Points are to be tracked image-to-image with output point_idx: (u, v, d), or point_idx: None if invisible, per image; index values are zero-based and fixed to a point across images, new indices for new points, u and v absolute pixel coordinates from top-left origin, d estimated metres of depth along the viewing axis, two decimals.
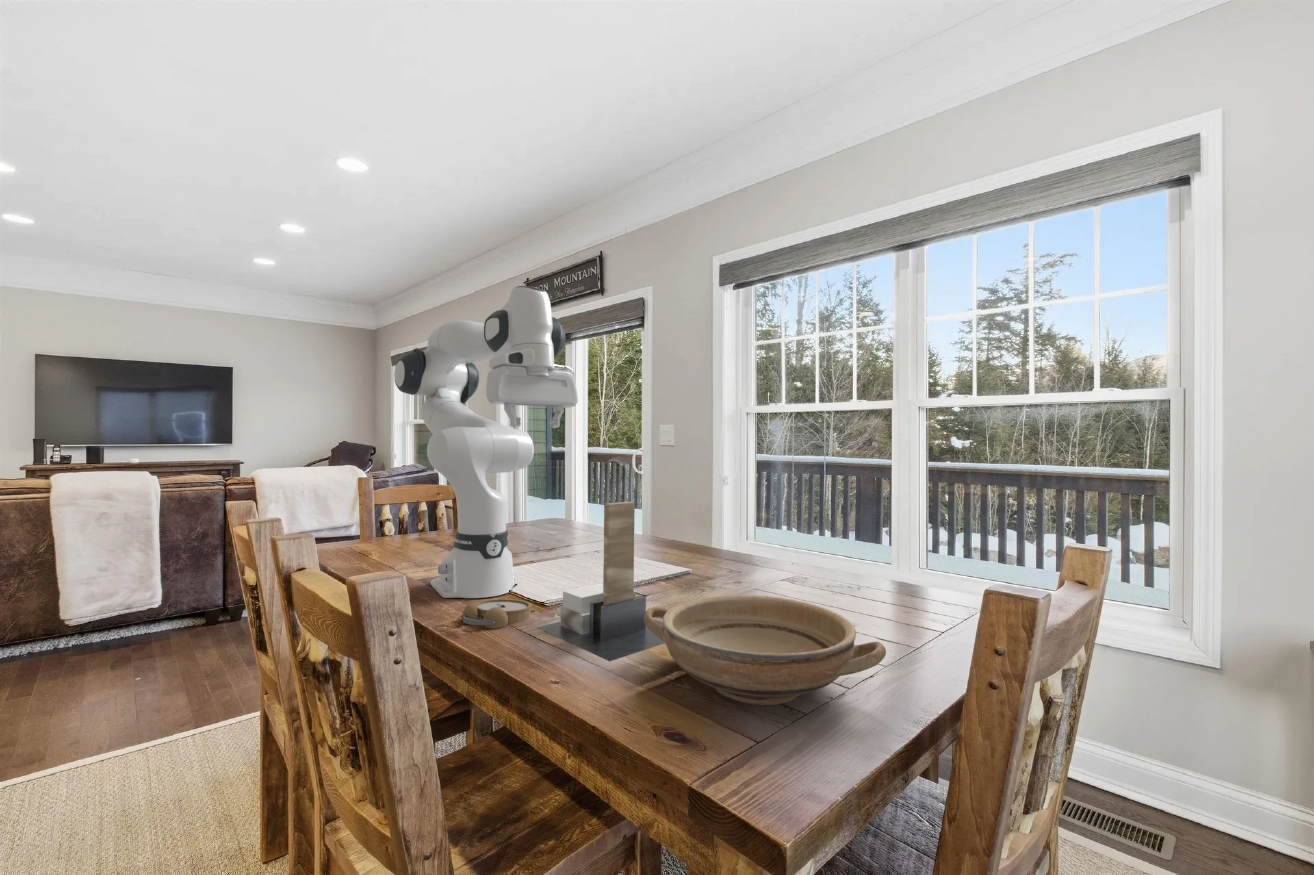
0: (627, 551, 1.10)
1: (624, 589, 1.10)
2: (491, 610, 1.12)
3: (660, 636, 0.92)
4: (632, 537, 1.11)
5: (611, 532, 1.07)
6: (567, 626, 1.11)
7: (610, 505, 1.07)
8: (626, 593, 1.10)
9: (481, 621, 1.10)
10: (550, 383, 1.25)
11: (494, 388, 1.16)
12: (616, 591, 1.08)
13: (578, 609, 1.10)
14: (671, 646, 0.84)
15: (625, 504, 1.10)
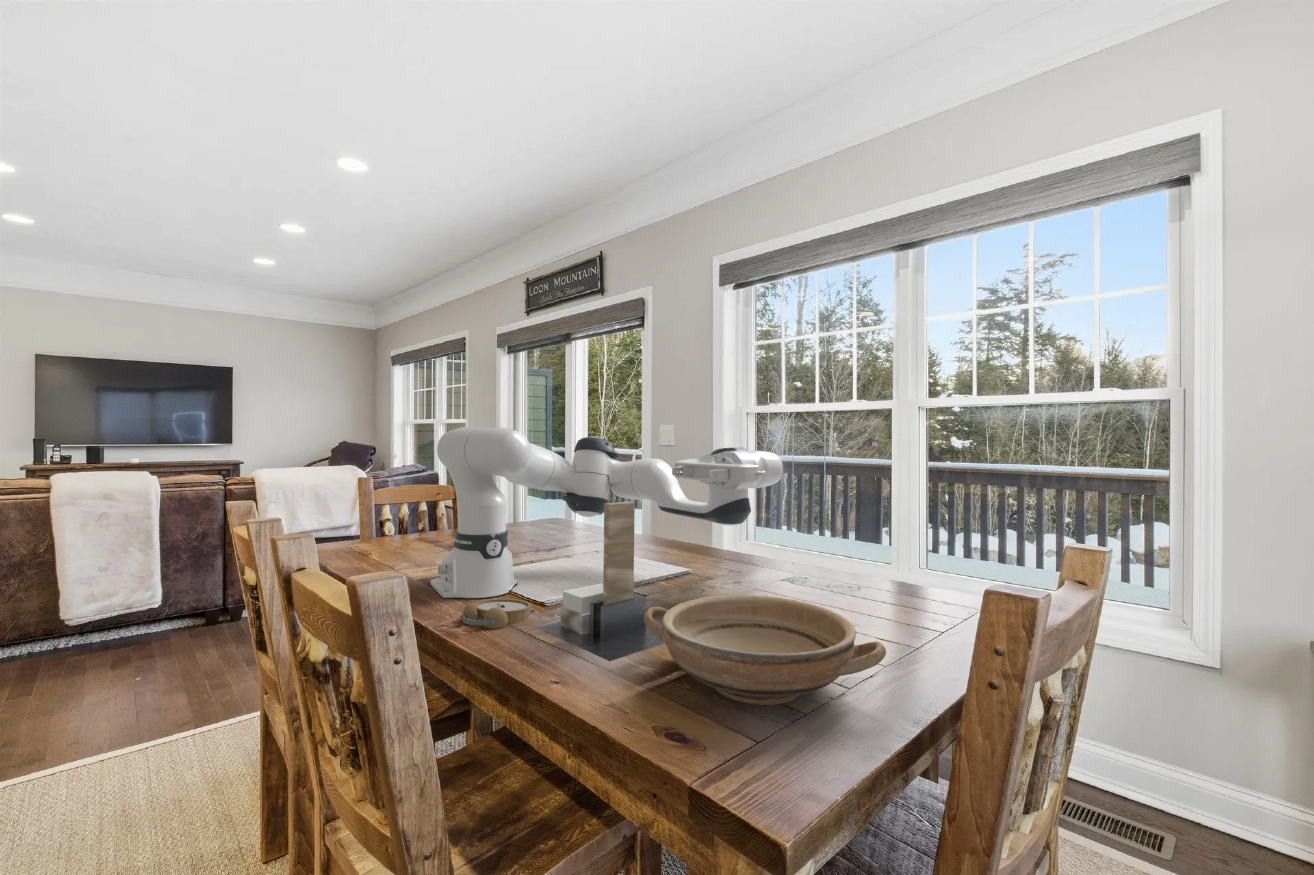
0: (627, 551, 1.10)
1: (624, 589, 1.10)
2: (491, 610, 1.12)
3: (660, 636, 0.92)
4: (632, 537, 1.11)
5: (611, 532, 1.07)
6: (567, 626, 1.11)
7: (610, 505, 1.07)
8: (626, 593, 1.10)
9: (481, 621, 1.10)
10: None
11: None
12: (616, 591, 1.08)
13: (578, 609, 1.10)
14: (671, 646, 0.84)
15: (625, 504, 1.10)
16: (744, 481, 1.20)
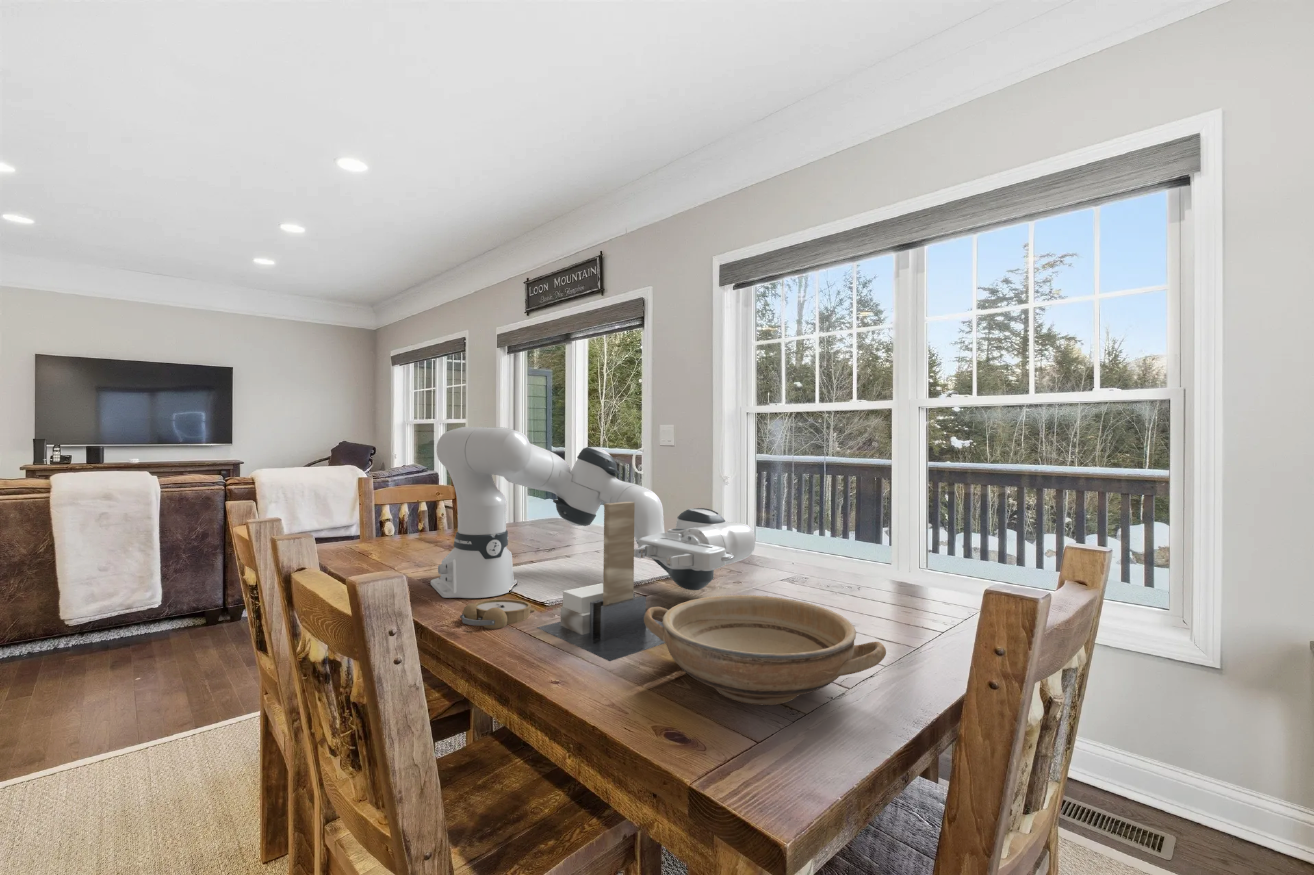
0: (627, 551, 1.10)
1: (624, 589, 1.10)
2: (490, 610, 1.12)
3: (660, 636, 0.92)
4: (632, 537, 1.11)
5: (611, 532, 1.07)
6: (567, 626, 1.11)
7: (610, 505, 1.07)
8: (626, 593, 1.10)
9: (480, 621, 1.10)
10: (695, 546, 1.19)
11: None
12: (616, 591, 1.08)
13: (578, 609, 1.10)
14: (671, 646, 0.84)
15: (625, 504, 1.10)
16: (708, 569, 1.12)
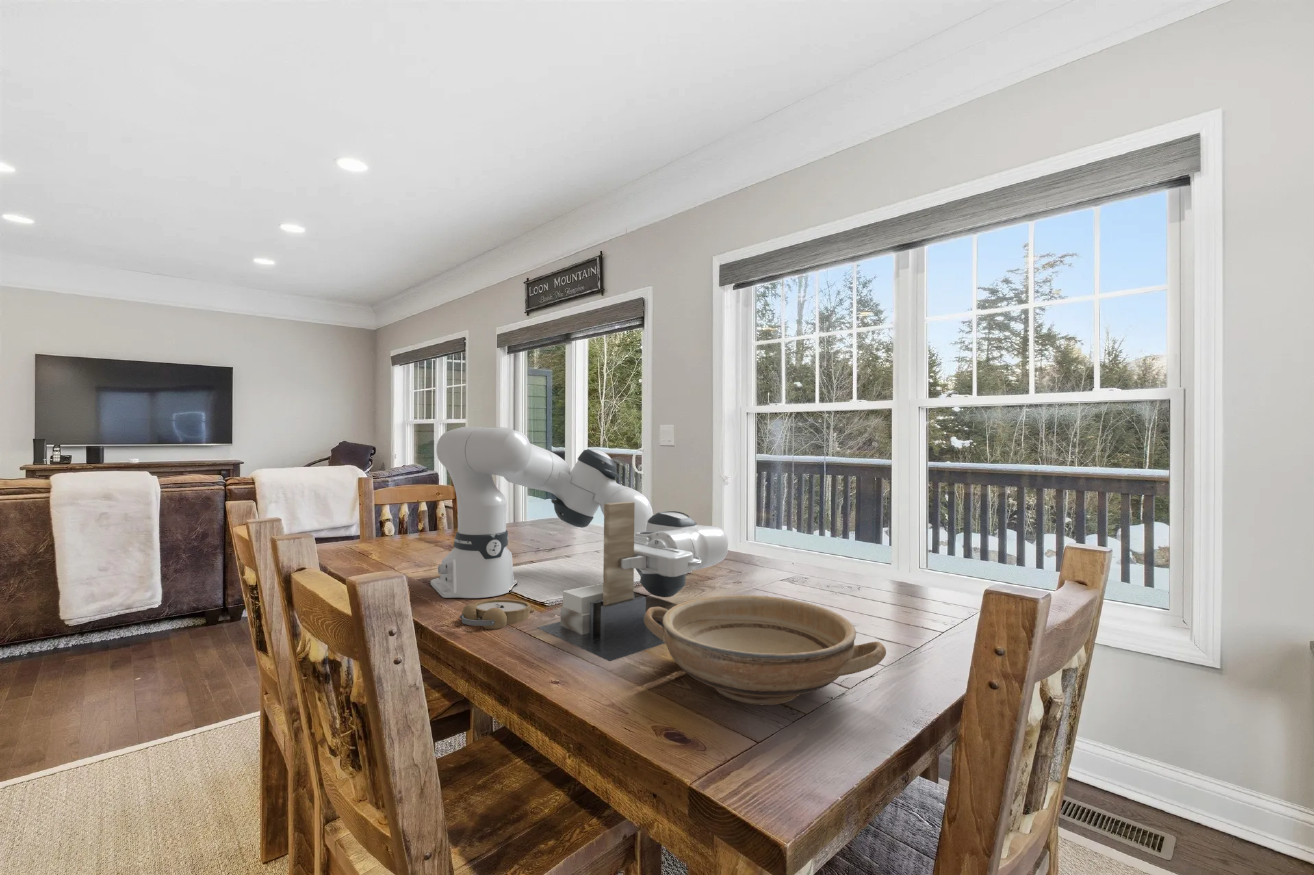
0: (627, 551, 1.10)
1: (624, 589, 1.10)
2: (490, 610, 1.11)
3: (660, 636, 0.92)
4: (632, 537, 1.11)
5: (611, 532, 1.07)
6: (567, 626, 1.11)
7: (610, 505, 1.07)
8: (626, 593, 1.10)
9: (480, 621, 1.10)
10: (662, 550, 1.13)
11: None
12: (616, 591, 1.08)
13: (578, 609, 1.10)
14: (671, 646, 0.84)
15: (625, 504, 1.10)
16: (673, 575, 1.06)
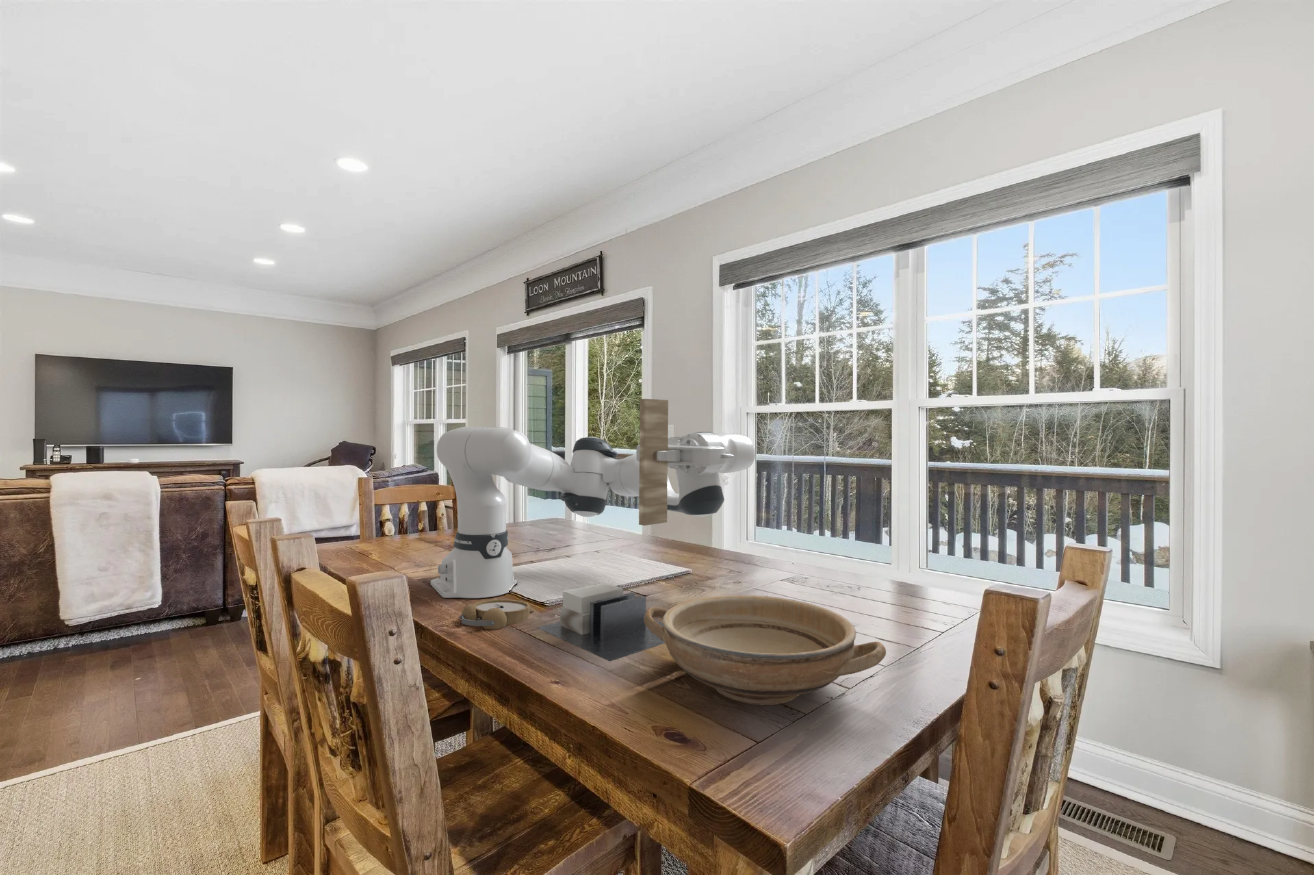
0: (661, 446, 1.14)
1: (659, 482, 1.14)
2: (490, 611, 1.11)
3: (660, 636, 0.92)
4: (666, 433, 1.15)
5: (647, 425, 1.12)
6: (567, 626, 1.11)
7: (646, 399, 1.11)
8: (661, 486, 1.14)
9: (480, 621, 1.09)
10: None
11: None
12: (651, 483, 1.13)
13: (578, 609, 1.10)
14: (671, 646, 0.84)
15: (659, 400, 1.14)
16: (707, 464, 1.10)
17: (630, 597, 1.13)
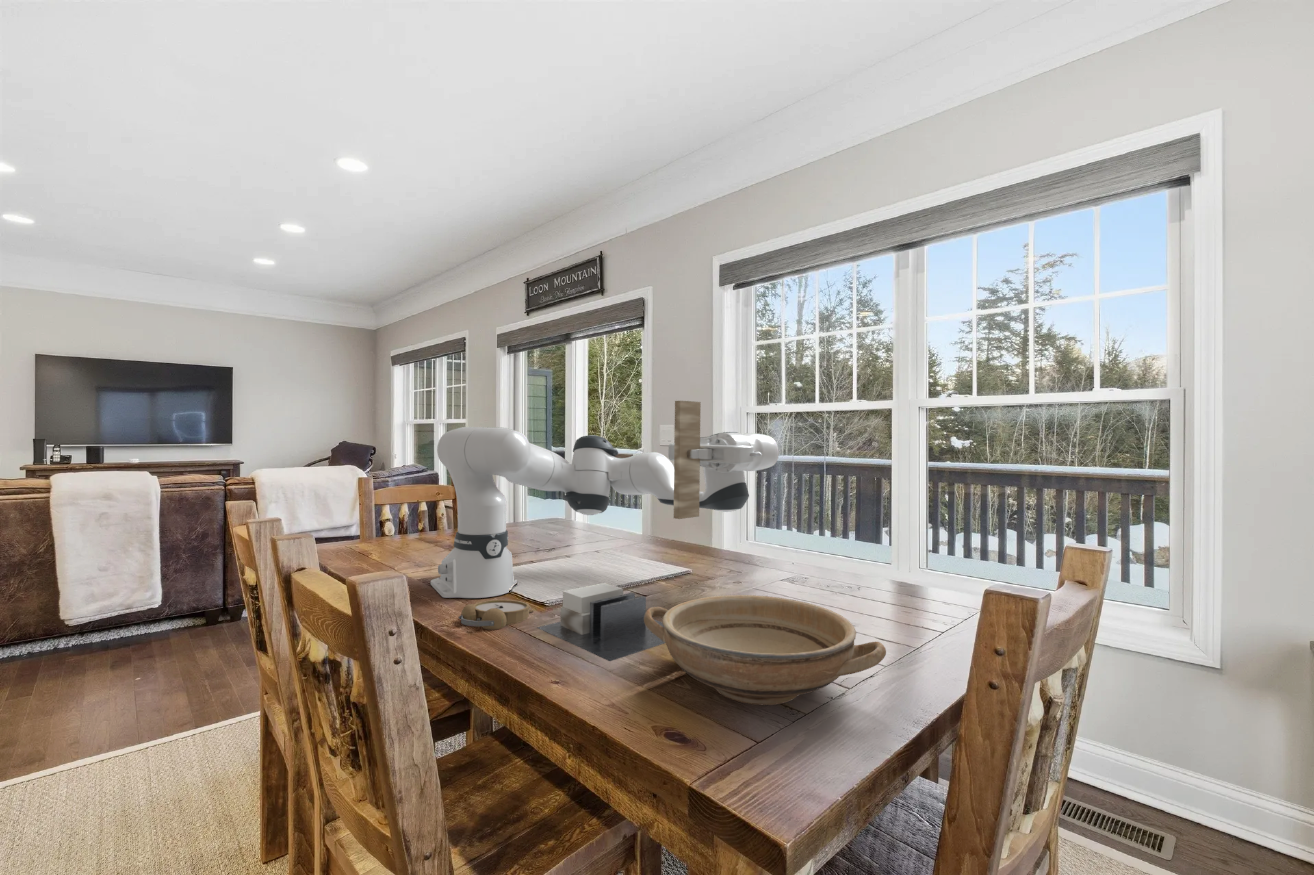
0: (694, 445, 1.22)
1: (692, 479, 1.22)
2: (489, 611, 1.11)
3: (660, 636, 0.92)
4: (698, 433, 1.23)
5: (681, 425, 1.20)
6: (567, 626, 1.11)
7: (681, 401, 1.19)
8: (693, 482, 1.22)
9: (479, 622, 1.09)
10: None
11: None
12: (685, 479, 1.21)
13: (578, 609, 1.10)
14: (671, 646, 0.84)
15: (693, 402, 1.22)
16: (738, 461, 1.18)
17: (630, 597, 1.13)
